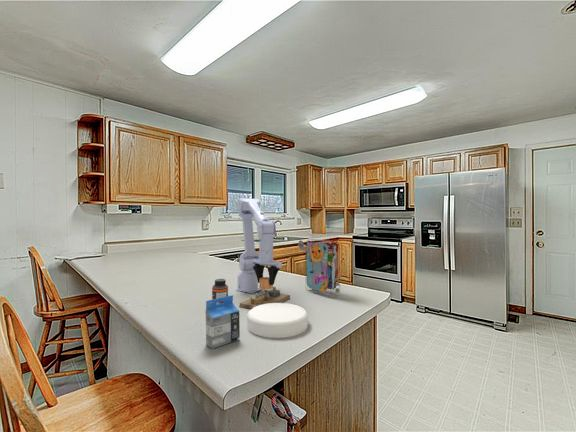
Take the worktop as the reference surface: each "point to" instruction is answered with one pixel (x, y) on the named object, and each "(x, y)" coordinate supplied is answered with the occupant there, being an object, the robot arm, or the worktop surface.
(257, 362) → the worktop surface
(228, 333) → the label tape box
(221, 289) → the supplement bottle
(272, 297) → the gear board
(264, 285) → the idler gear
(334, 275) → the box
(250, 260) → the robot arm
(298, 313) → the container
